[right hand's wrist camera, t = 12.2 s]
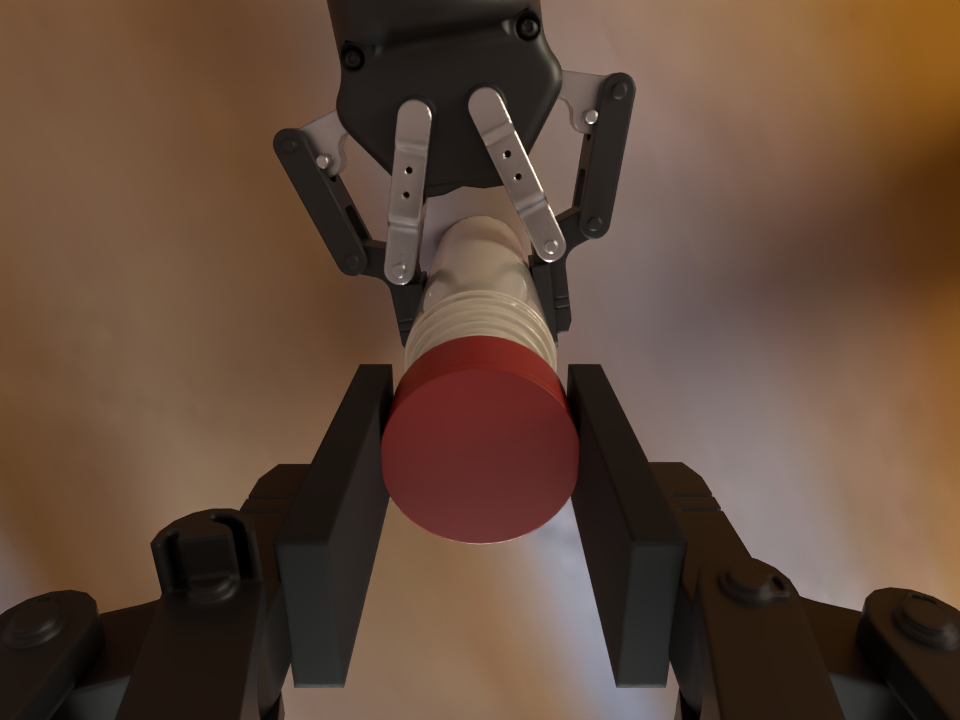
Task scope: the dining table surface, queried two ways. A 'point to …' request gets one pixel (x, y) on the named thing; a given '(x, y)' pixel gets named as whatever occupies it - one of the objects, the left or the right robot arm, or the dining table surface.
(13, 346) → the dining table surface
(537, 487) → the cap
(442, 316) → the bottle
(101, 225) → the dining table surface
